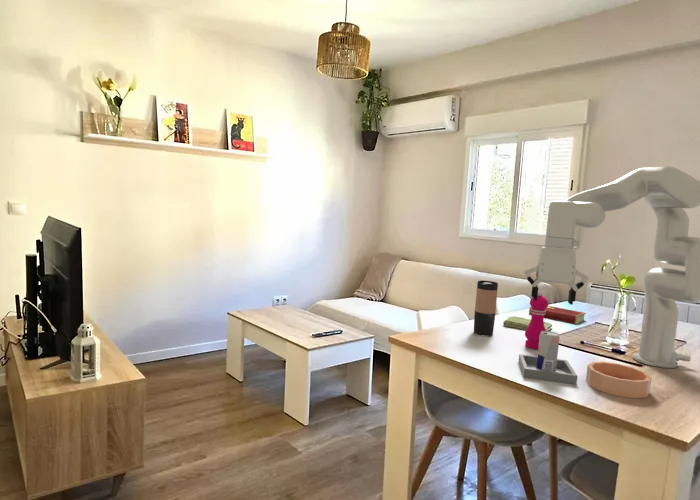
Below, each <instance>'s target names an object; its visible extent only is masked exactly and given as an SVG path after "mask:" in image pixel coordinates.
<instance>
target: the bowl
mask: <svg viewBox="0 0 700 500" xmlns="http://www.w3.org/2000/svg"><path fill="white" fill-rule="evenodd" d="M585 374H586V375H585V381H586V383H587V384H588V386H590V387H592V388H593V389H596V390H597V391H600V392H603V393H606V394H609V395H612V396H616V397H622V398H628V399H643V398H647V397H648V396H649V395H650V394H651V385H652V376H651V375H649V374H648V373H647V372H645V371H642V370H641V369H639V368H636V367H633V366H629V365H625V364H621V363H615V362H609V361H608V362H607V361H592V362H590V363H588V364H587V368H586V373H585Z"/></svg>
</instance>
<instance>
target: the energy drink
mask: <svg viewBox="0 0 700 500" xmlns="http://www.w3.org/2000/svg"><path fill="white" fill-rule="evenodd" d="M559 344H560V334H559V333H558V332H554V331H550V330H548V331H541V333H540V338H539V348H538V351H537V356H538V357H537V365H536V366H535V367H536V368H535V369H538V370H546V371H553V372H557V368H556V365H557V359H558V354H559V346H560V345H559Z"/></svg>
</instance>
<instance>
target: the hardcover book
mask: <svg viewBox="0 0 700 500" xmlns="http://www.w3.org/2000/svg"><path fill="white" fill-rule="evenodd" d="M531 308H532V307H531V306H530V307H529V311H528V314H529V315H531V316H532V313H531V312H530V311H531ZM545 310H546V314H545V315H544V319H545V318H546V319H550V320H556V321H559V322H564V323H569V324H573V325H577V324H579V323H581V322H584V320H585V315H586V314H587V313H586V312H582V311H577V310H573V309H567V308H562V307H558V306H552V305H548V307H547V308H546V309H545Z"/></svg>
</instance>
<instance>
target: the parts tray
mask: <svg viewBox="0 0 700 500" xmlns="http://www.w3.org/2000/svg"><path fill="white" fill-rule="evenodd" d="M537 357H538V355H530V354H529V355H528V354H521V353H518V364H519V367H520V370H521V375H522V377H523V378H528V379H533V380H534V379H535V380H541V381H549V382H557V383H562V384H570V385H577V382H578V375H577V373H576V372H575V370H574V369H573V366H572V365H571V364H570V363H569V361H568V360H567V359H561V358H559V359H558V358H557V365H556V369H563V371H564V372H560V371H559V372H558V371H556V372H553V371H546V370H538V369H536V368H530V367H528V365H533V366H537Z"/></svg>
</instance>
